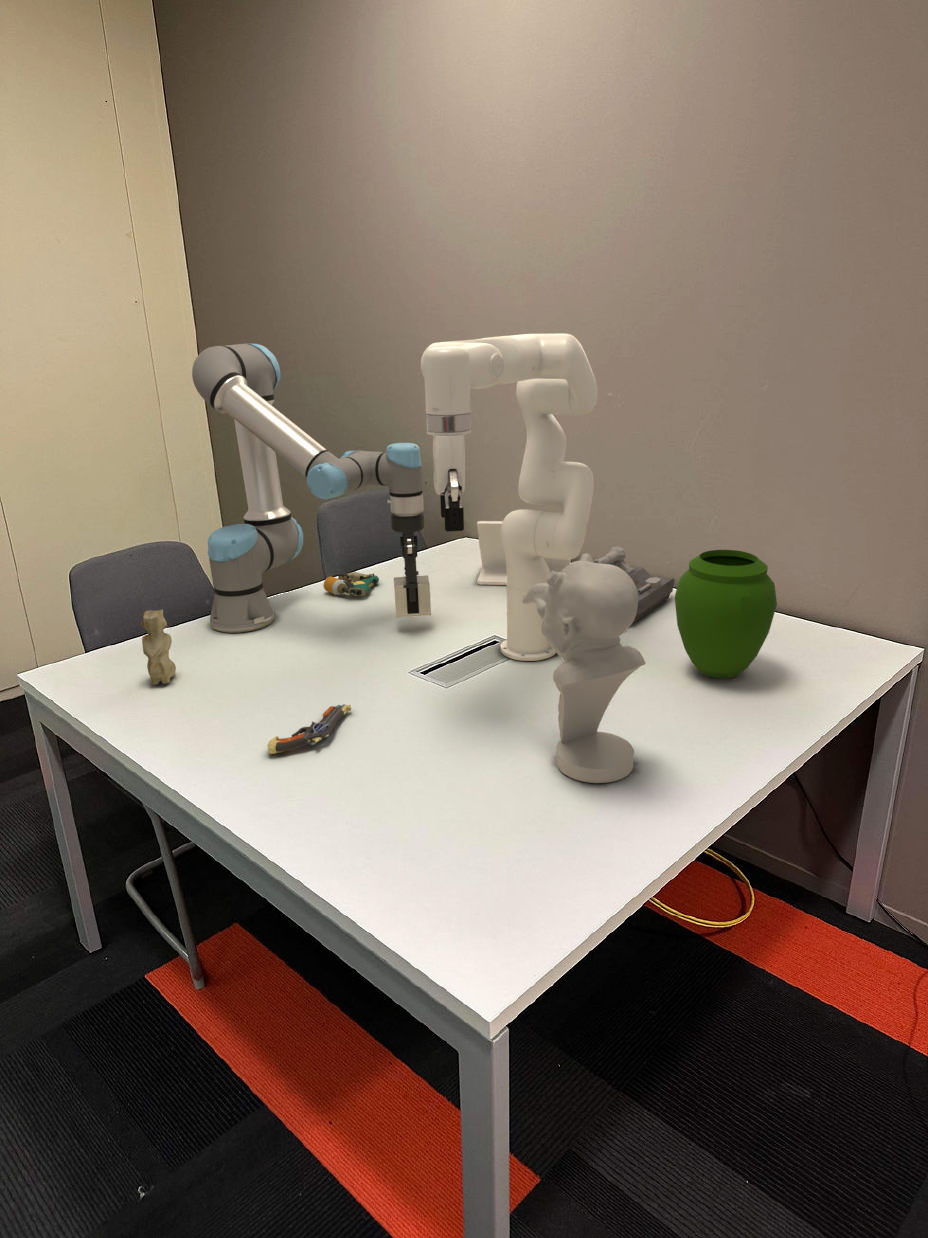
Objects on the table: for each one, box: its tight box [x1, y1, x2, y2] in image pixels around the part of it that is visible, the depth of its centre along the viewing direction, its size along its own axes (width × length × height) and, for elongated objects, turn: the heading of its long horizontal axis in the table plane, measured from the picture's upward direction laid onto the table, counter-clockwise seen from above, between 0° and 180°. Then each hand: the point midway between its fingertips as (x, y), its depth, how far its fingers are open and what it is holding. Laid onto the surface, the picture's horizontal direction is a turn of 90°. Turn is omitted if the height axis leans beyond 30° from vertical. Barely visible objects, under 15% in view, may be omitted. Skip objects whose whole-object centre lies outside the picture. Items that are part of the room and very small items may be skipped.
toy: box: [593, 546, 676, 624], centre depth 212 cm, size 25×20×15 cm
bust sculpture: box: [522, 553, 646, 784], centre depth 140 cm, size 16×24×35 cm, turn 28°
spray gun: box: [323, 571, 380, 597], centre depth 231 cm, size 4×17×15 cm
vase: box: [674, 549, 778, 680], centre depth 171 cm, size 20×20×24 cm
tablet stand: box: [476, 520, 572, 586], centre depth 236 cm, size 18×25×17 cm
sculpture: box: [141, 608, 177, 685], centre depth 176 cm, size 6×7×15 cm
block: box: [393, 574, 432, 618], centre depth 201 cm, size 7×8×8 cm
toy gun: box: [267, 703, 352, 755], centre depth 155 cm, size 3×19×10 cm
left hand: (412, 607), depth 202 cm, fingers closed on block, 7 cm apart
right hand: (452, 523), depth 149 cm, fingers open, 9 cm apart
